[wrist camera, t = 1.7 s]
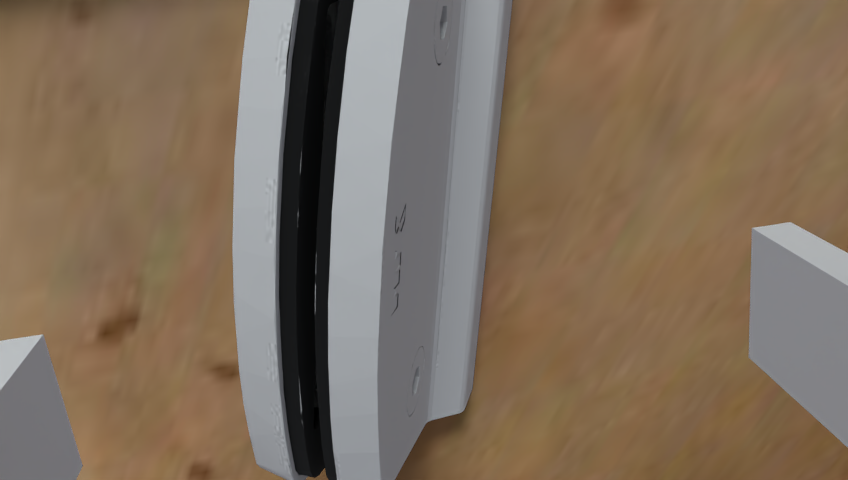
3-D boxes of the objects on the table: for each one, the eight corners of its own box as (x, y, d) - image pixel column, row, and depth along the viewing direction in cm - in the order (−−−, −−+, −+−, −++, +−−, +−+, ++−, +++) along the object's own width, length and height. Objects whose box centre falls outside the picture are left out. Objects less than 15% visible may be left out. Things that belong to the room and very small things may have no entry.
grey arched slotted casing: (471, 398, 30) (402, 589, 20) (349, 375, 30) (229, 548, 21) (522, -90, 24) (459, -134, 15) (371, -99, 25) (223, -146, 16)
